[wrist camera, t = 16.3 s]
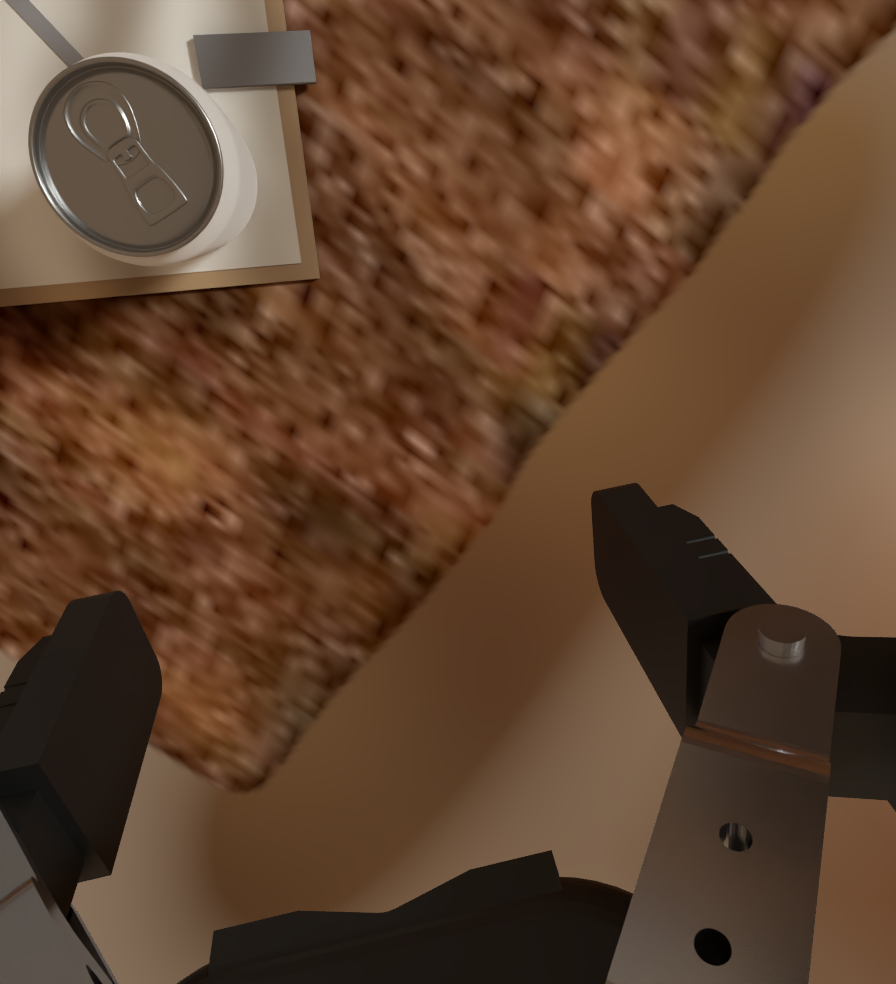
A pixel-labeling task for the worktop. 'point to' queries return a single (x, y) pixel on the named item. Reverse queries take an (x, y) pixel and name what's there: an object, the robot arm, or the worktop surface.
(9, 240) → the clipboard
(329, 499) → the worktop surface
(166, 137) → the can
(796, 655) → the robot arm
